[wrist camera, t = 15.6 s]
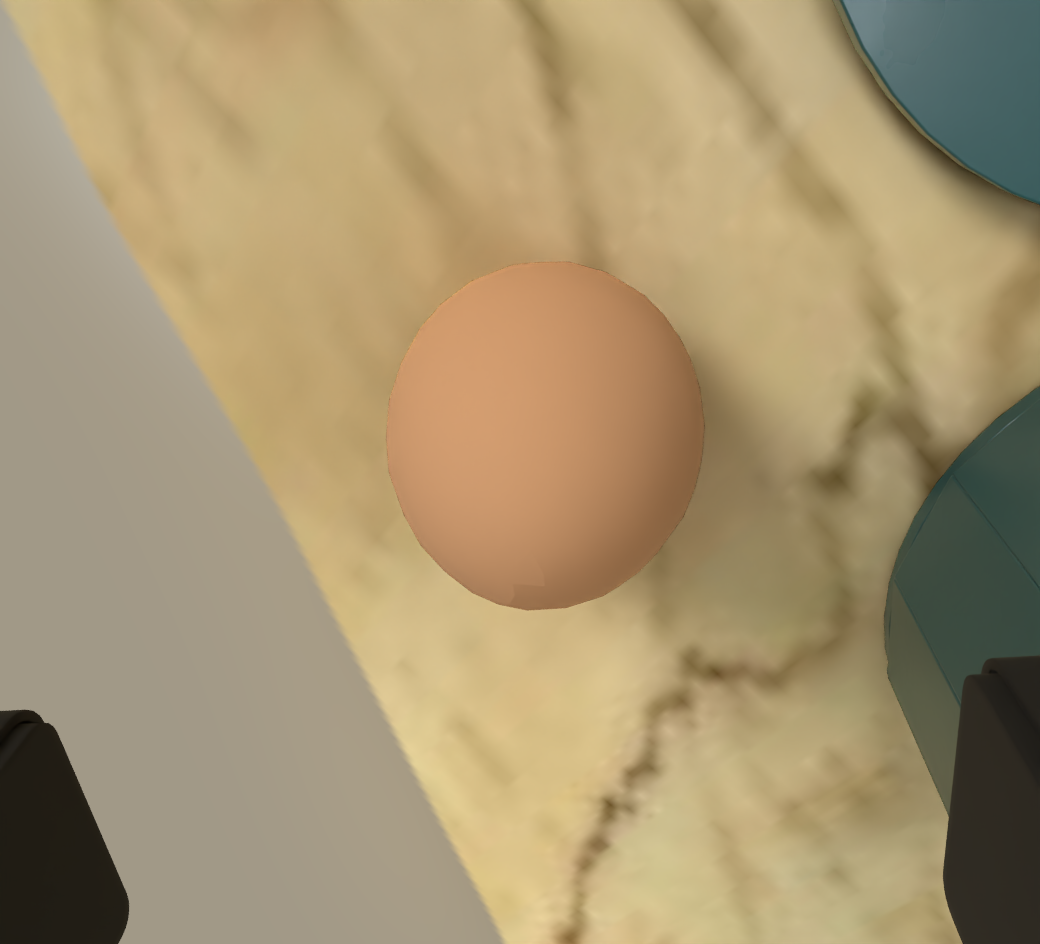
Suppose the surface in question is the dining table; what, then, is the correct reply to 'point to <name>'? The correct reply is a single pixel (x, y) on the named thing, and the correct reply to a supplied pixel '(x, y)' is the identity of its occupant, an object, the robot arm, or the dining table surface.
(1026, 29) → the lid
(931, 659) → the pot
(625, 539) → the egg
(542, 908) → the dining table surface
